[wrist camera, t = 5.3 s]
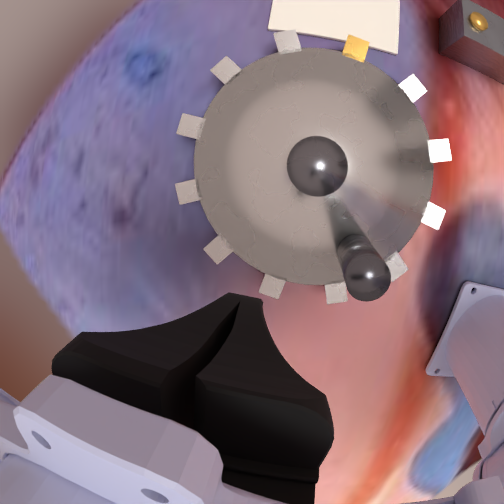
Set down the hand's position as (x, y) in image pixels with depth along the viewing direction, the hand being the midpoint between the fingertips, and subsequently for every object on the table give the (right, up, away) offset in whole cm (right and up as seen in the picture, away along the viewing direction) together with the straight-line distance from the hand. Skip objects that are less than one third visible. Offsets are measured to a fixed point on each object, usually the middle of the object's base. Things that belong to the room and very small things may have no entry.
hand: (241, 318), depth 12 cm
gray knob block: (+16, +16, +1) cm, 22 cm away
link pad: (+6, +18, +2) cm, 19 cm away
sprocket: (+4, +8, +6) cm, 10 cm away
